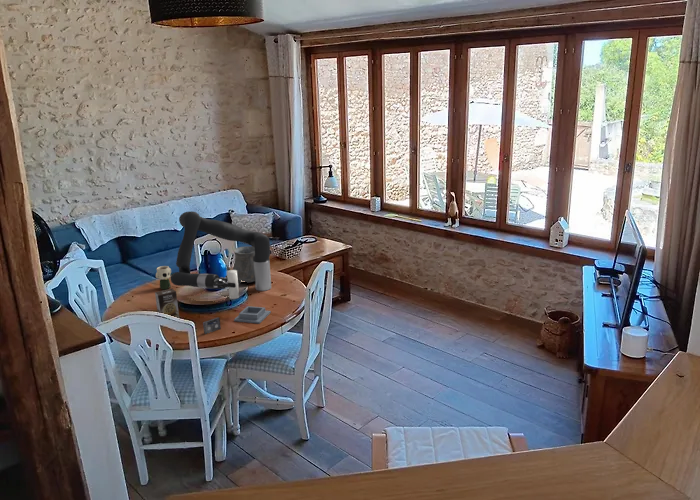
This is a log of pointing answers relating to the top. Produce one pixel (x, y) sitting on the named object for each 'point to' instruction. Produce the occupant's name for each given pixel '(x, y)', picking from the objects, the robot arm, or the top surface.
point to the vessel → (244, 263)
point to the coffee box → (167, 302)
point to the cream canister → (233, 279)
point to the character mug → (163, 276)
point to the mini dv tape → (211, 325)
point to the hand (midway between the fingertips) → (237, 283)
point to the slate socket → (252, 315)
